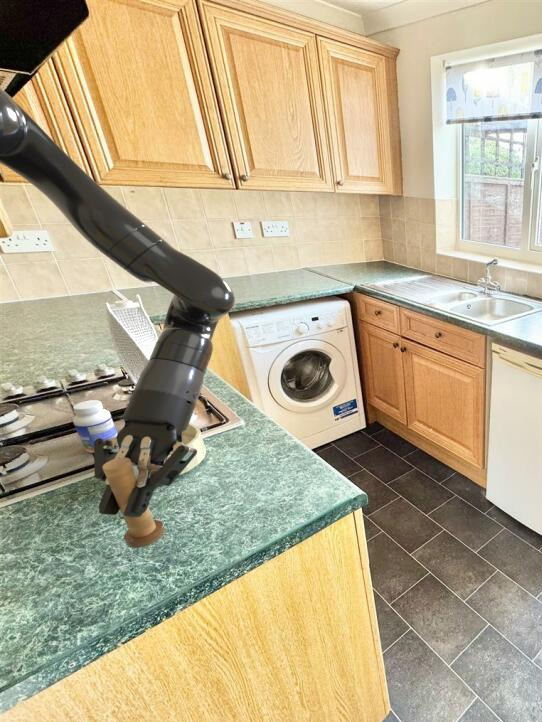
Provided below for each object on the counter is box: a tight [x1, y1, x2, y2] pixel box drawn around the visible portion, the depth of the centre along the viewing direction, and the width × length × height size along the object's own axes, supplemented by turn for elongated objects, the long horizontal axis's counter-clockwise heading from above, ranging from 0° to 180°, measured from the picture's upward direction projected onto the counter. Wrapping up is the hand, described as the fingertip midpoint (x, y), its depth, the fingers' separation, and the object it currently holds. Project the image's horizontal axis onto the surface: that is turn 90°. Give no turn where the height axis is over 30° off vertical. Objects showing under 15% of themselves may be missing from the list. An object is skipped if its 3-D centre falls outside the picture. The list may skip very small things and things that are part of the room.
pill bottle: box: [72, 399, 119, 454], centre depth 84 cm, size 5×5×10 cm
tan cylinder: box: [102, 458, 166, 549], centre depth 58 cm, size 4×4×13 cm
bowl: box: [135, 422, 207, 478], centre depth 80 cm, size 14×14×6 cm
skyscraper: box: [105, 293, 159, 387], centre depth 94 cm, size 8×8×28 cm
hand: (120, 514), depth 57 cm, fingers closed on tan cylinder, 3 cm apart
